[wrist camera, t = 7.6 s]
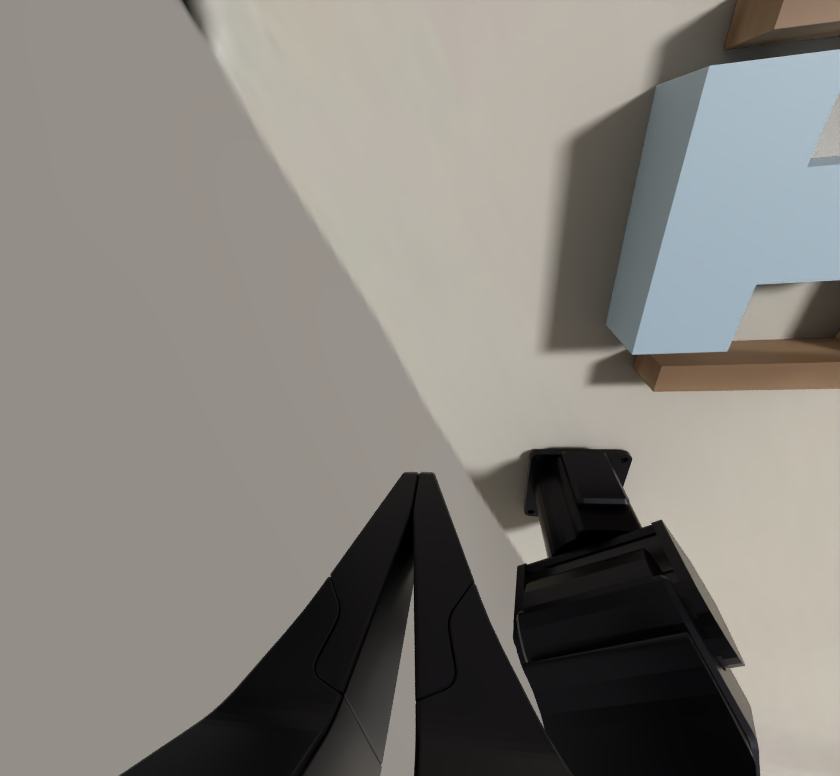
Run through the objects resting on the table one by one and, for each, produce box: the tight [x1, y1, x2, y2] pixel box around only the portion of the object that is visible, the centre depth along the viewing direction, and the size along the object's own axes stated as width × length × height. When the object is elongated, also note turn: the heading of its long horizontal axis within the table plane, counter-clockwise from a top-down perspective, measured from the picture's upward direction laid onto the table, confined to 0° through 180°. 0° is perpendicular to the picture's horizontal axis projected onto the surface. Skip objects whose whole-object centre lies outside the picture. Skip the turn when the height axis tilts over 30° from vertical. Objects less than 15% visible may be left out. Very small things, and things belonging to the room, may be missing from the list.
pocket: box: [633, 0, 840, 392], centre depth 15 cm, size 15×11×2 cm
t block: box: [606, 49, 840, 355], centre depth 14 cm, size 10×11×4 cm
